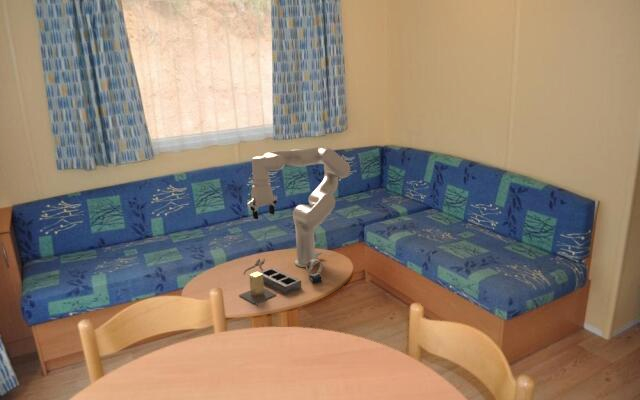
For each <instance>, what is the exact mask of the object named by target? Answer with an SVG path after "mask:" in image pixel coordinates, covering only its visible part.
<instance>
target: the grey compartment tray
mask: <svg viewBox="0 0 640 400" xmlns="http://www.w3.org/2000/svg"><path fill="white" fill-rule="evenodd" d="M261 271H262V270H261ZM261 271H258V272H259V273H261V274H263V282H264V285H266V286H267V287H270V288H272V289H274V290H276V291H278V292H280V293H282V294H284V295H289V294H292V293H294V292H296V291H298V290H301V289H302V280H300V279H298V278H297V277H295V276H292V275H290V274H287V273H286V272H283V271H280V270H278V269H276V268H274V267H270V268H268V269H265V270H263V271H262V272H261Z"/></svg>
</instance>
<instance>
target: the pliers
mask: <svg viewBox="0 0 640 400" xmlns="http://www.w3.org/2000/svg"><path fill="white" fill-rule="evenodd" d="M260 260H261V259H260V258H258V259H257V261H256V262H255V264H253V266H250V267H248V268H246V269H245V270H244V271H243V275H245V274H246V272H247V271H249V270H251V269H254V268H255V267H257V266H258V268H259V269H260V270H261V271H260V272H262V271H264V269H263V267H262V265H263V264H265V261H266V260H265V258H263V259H262V260H261V261H260Z"/></svg>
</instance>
